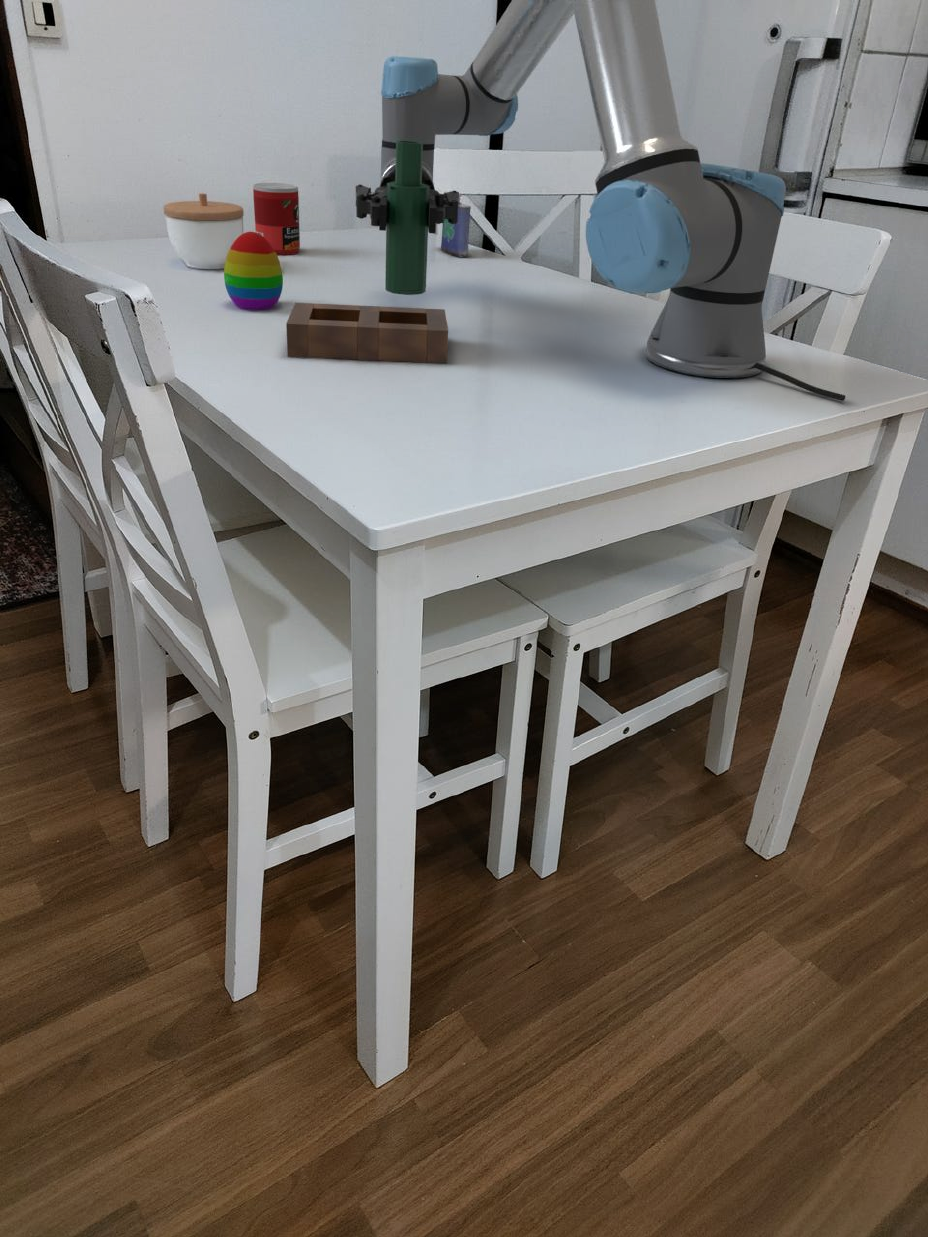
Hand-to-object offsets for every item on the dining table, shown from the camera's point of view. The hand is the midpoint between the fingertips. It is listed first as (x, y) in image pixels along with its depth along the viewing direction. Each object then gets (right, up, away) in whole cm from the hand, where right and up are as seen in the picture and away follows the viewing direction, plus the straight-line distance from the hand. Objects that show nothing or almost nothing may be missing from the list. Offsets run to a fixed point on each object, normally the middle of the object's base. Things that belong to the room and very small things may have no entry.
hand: (407, 219), depth 107 cm
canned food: (-28, +21, +64) cm, 73 cm away
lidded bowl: (-37, +14, +50) cm, 64 cm away
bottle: (-1, -5, +9) cm, 10 cm away
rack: (-6, -11, +13) cm, 18 cm away
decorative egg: (-24, -1, +28) cm, 37 cm away
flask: (+4, +25, +73) cm, 77 cm away
